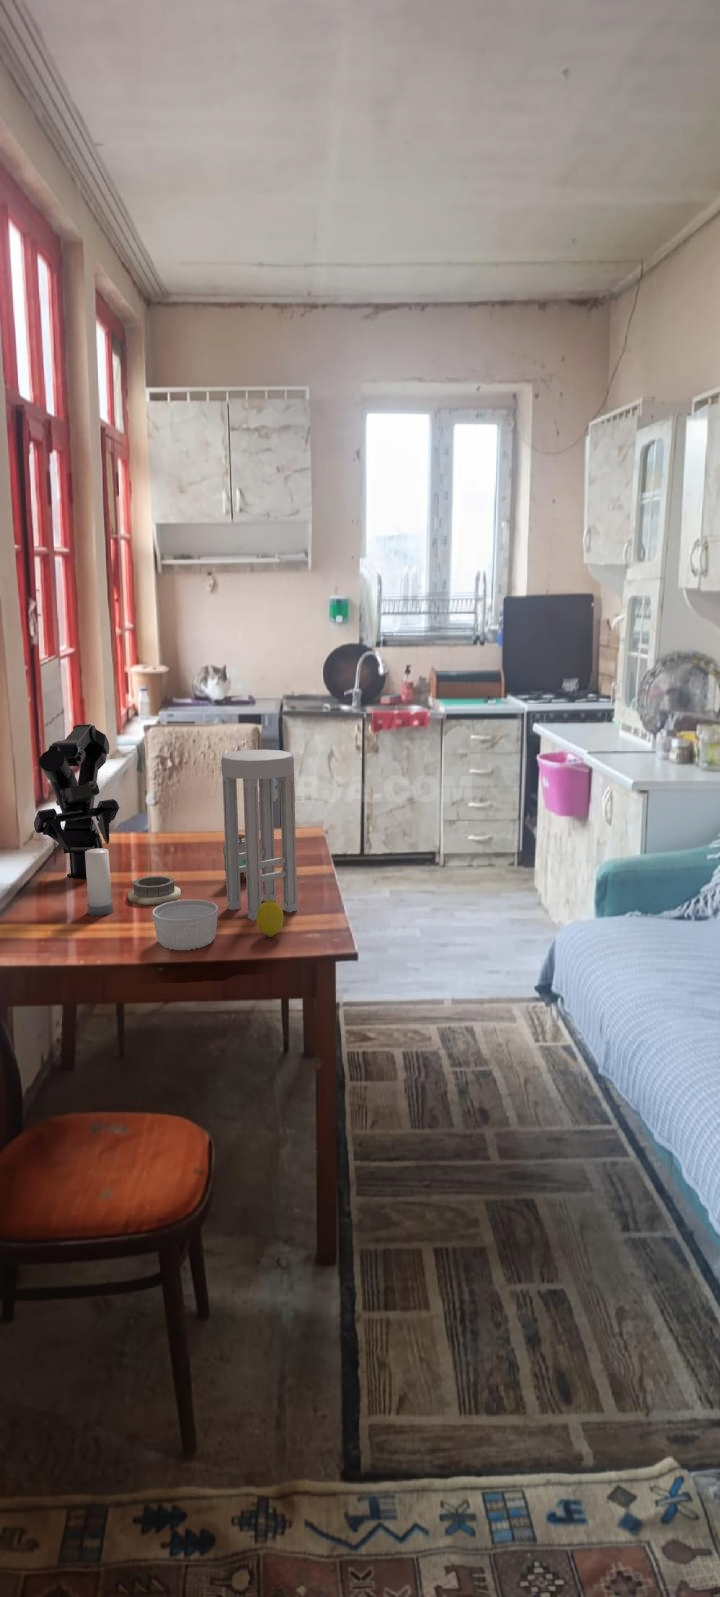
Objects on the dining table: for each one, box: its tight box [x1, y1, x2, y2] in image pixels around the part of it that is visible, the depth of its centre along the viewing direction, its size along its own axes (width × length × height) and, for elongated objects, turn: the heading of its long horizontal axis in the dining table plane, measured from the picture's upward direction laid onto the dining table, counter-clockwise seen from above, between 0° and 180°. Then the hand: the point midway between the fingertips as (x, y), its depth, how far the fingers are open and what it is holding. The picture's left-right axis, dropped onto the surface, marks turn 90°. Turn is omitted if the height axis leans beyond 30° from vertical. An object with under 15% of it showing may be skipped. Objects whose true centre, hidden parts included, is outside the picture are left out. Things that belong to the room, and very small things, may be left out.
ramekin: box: [151, 899, 219, 951], centre depth 201 cm, size 13×13×7 cm
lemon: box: [255, 900, 285, 938], centre depth 202 cm, size 6×6×8 cm
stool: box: [220, 749, 298, 921], centre depth 218 cm, size 16×16×35 cm
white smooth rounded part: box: [85, 848, 114, 917], centre depth 219 cm, size 5×5×14 cm
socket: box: [127, 875, 182, 906], centre depth 231 cm, size 12×12×4 cm
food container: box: [222, 833, 246, 885], centre depth 244 cm, size 12×6×10 cm, turn 168°
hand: (88, 846), depth 225 cm, fingers open, 9 cm apart
